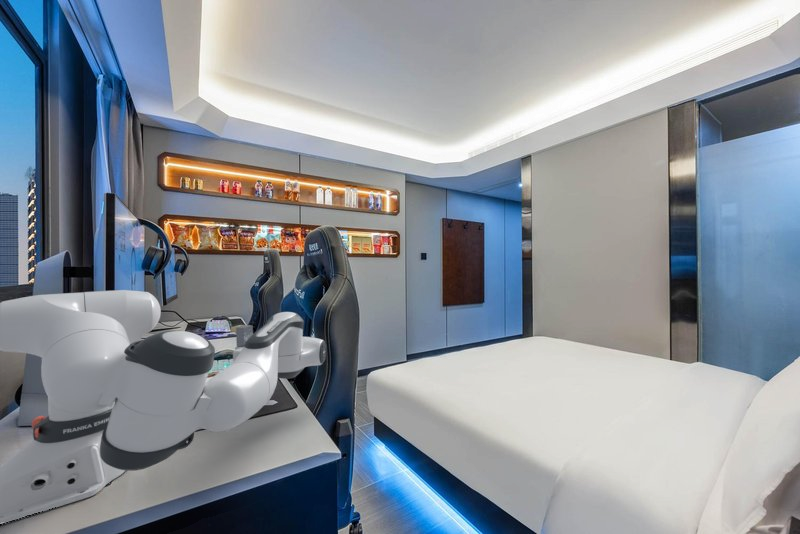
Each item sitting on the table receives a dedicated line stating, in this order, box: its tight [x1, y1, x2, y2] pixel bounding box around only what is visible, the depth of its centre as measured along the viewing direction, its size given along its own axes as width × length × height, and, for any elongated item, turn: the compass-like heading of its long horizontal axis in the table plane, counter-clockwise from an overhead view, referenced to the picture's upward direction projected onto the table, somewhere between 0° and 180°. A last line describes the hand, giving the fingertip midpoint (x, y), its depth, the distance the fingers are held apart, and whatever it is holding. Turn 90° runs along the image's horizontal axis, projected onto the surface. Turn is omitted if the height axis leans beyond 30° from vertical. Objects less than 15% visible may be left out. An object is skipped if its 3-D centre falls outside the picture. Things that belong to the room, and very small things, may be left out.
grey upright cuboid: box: [230, 324, 254, 347], centre depth 104 cm, size 5×4×17 cm
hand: (242, 347), depth 104 cm, fingers closed on grey upright cuboid, 4 cm apart
